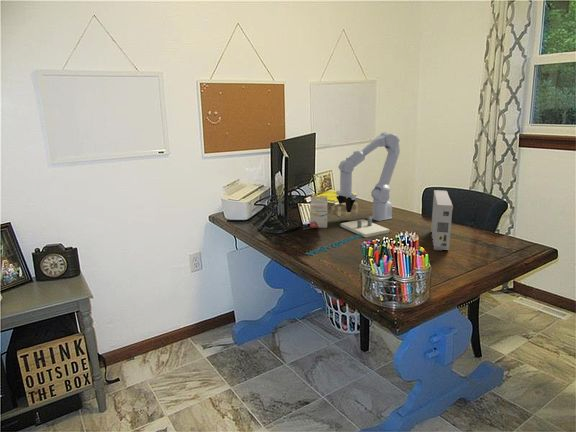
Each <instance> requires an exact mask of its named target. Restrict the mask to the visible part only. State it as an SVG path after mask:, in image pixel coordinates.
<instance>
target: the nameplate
mask: <svg viewBox="0 0 576 432" xmlns="http://www.w3.org/2000/svg"><path fill="white" fill-rule="evenodd" d="M348 237H349V236H348ZM359 238H363V236H362V235H361V234H355V235H352V237H349V238H344V239H341V240H340V241H339V240H338V241H336V242H333V243H329V244H328V246H324V245H323V246H322V245H321V246H320V247H318V248H317V249H314V250H311V251H309V252H305V253H304V255H305V254H307V255H306V256H311V255H314V256H315V254H319V253H320V252H328V249H331V246H332V248H336V249H337V248H338V247H341V246H342V245H343V244H346V243H348V242H352V241H354V240H357V239H359Z"/></svg>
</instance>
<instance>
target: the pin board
mask: <svg viewBox="0 0 576 432" xmlns="http://www.w3.org/2000/svg"><path fill="white" fill-rule="evenodd" d="M340 227H341V228H344V229H345V230H348V231H349V232H353V233H354V234H355V235H359V234H361V235H362V238H363V237H364V238H370V237H375V236H379V235H384V234H390V231H391V229H389V228H387V227H385V226H382V225H379V224H376V223H374V222H373V219H372V218H369V217H367V220H366V219H364V218H363V219H357V220H352V221H347V222H342V223H340Z"/></svg>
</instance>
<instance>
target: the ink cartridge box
mask: <svg viewBox="0 0 576 432" xmlns="http://www.w3.org/2000/svg"><path fill="white" fill-rule="evenodd" d="M309 211H310V212H309V227H310V228H320V229H321V228H325V229H326V228H328V196H311V197H310V204H309Z"/></svg>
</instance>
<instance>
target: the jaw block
mask: <svg viewBox="0 0 576 432" xmlns="http://www.w3.org/2000/svg"><path fill="white" fill-rule="evenodd" d="M332 214H333V215H334V216H337V217H343V216H345V217H346V216H350V215H355V214H356V215H357V214H359V203H357V202H356V201H355V202H354V204H353V206H352V210H351V212H347V210H346V203H342V204H339V203H337V204H333V205H332Z"/></svg>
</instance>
